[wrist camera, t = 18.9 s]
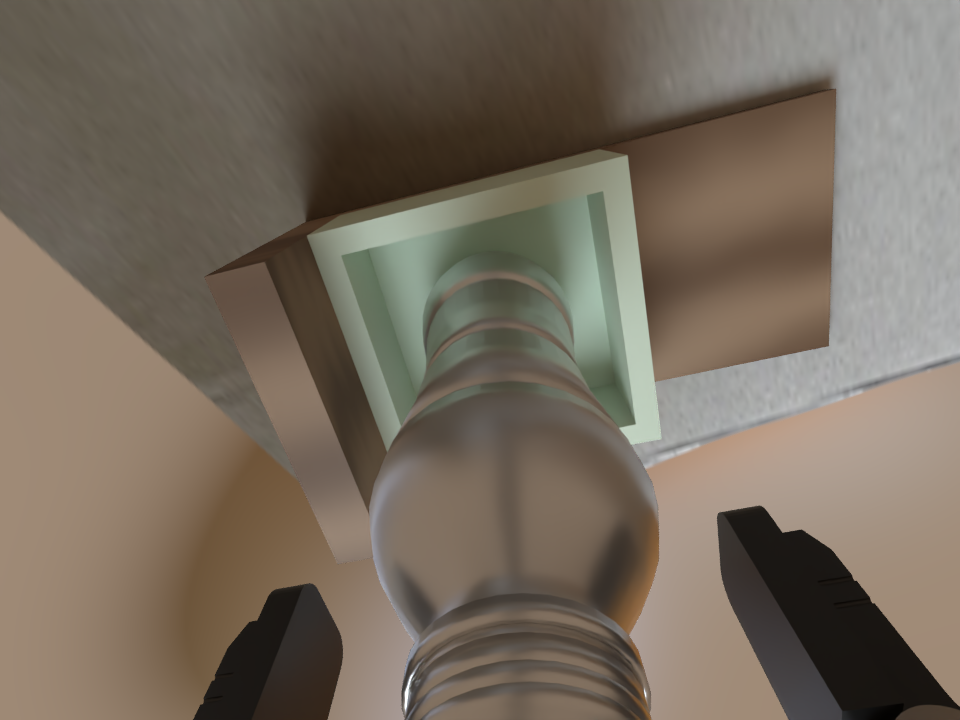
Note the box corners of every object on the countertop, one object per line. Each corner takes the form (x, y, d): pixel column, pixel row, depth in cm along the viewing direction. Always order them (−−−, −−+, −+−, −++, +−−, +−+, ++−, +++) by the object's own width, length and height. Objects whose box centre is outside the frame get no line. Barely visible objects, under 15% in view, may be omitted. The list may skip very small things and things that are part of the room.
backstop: (305, 222, 25) (204, 276, 16) (824, 89, 23) (1051, 66, 14) (382, 430, 30) (337, 564, 21) (819, 340, 28) (985, 446, 18)
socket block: (340, 215, 24) (306, 235, 20) (599, 149, 23) (627, 155, 18) (414, 432, 29) (401, 489, 24) (632, 387, 28) (661, 438, 23)
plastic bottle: (533, 216, 23) (719, 551, 5) (584, 346, 26) (832, 887, 7) (403, 274, 24) (161, 723, 6) (464, 393, 27) (423, 965, 9)
